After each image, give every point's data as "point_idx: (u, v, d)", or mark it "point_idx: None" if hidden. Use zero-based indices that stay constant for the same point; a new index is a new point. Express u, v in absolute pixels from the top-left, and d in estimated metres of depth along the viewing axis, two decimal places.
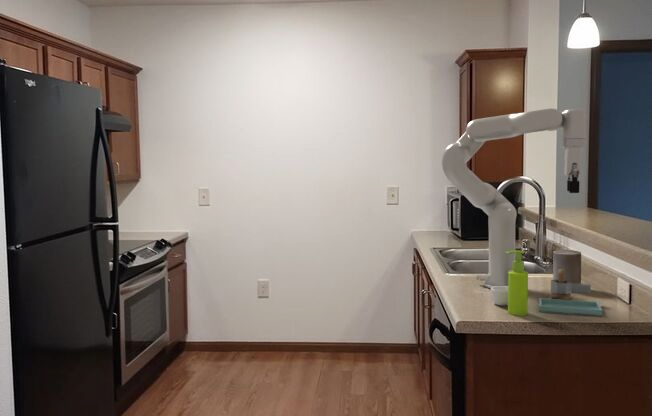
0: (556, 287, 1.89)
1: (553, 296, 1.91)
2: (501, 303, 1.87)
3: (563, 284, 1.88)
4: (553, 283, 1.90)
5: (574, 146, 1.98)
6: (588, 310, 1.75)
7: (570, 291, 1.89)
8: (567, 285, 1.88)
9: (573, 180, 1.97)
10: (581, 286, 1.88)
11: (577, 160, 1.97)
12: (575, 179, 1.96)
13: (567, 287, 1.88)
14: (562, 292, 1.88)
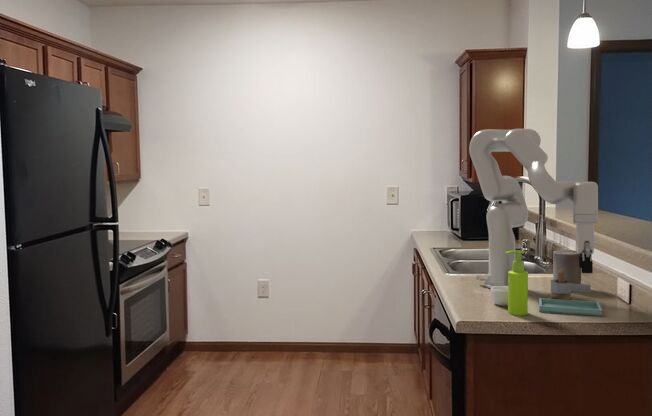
0: (556, 287, 1.89)
1: (553, 296, 1.91)
2: (501, 303, 1.87)
3: (563, 284, 1.88)
4: (553, 283, 1.90)
5: (586, 222, 1.83)
6: (588, 310, 1.75)
7: (570, 291, 1.89)
8: (567, 285, 1.88)
9: (586, 260, 1.82)
10: (581, 286, 1.88)
11: (589, 238, 1.82)
12: (588, 259, 1.81)
13: (567, 287, 1.88)
14: (562, 292, 1.88)
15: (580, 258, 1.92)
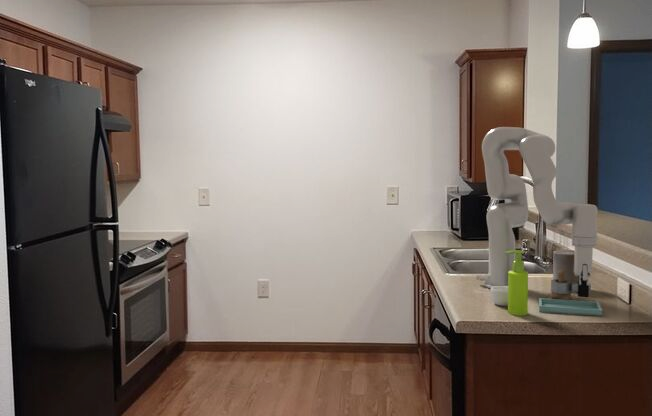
0: (556, 287, 1.89)
1: (553, 296, 1.91)
2: (501, 303, 1.87)
3: (563, 284, 1.88)
4: (553, 283, 1.90)
5: (584, 245, 1.84)
6: (588, 310, 1.75)
7: (570, 291, 1.89)
8: (567, 285, 1.88)
9: (582, 285, 1.86)
10: None
11: (588, 261, 1.83)
12: (584, 284, 1.86)
13: (567, 287, 1.88)
14: (562, 292, 1.88)
15: None
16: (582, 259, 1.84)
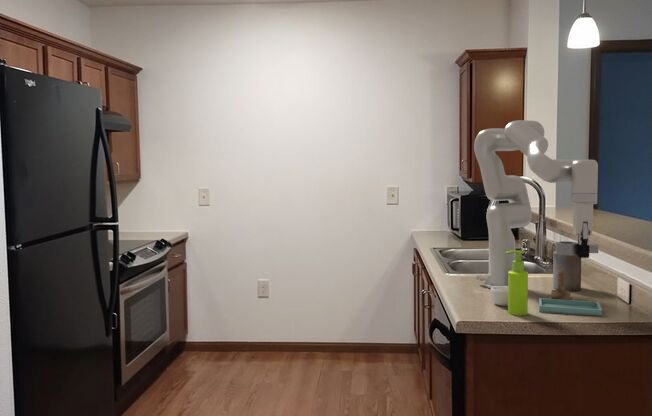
0: (562, 248, 1.79)
1: (553, 296, 1.91)
2: (501, 303, 1.87)
3: (569, 245, 1.78)
4: (558, 244, 1.80)
5: (585, 202, 1.75)
6: (588, 310, 1.75)
7: (577, 252, 1.78)
8: (573, 246, 1.78)
9: (582, 245, 1.77)
10: None
11: (588, 218, 1.74)
12: (585, 243, 1.76)
13: (573, 248, 1.78)
14: (568, 253, 1.78)
15: None
16: (582, 216, 1.74)
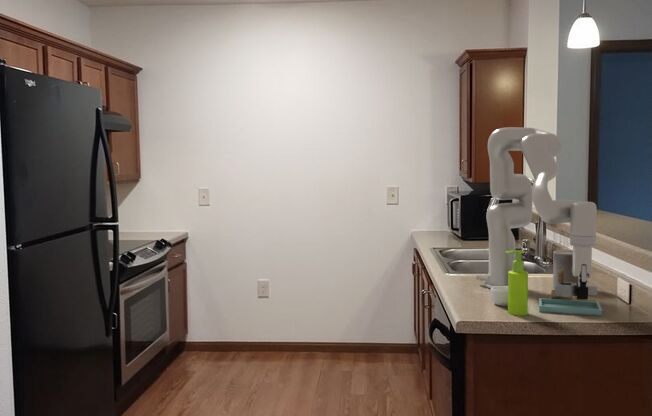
0: (560, 290, 1.79)
1: (553, 296, 1.91)
2: (501, 303, 1.87)
3: (568, 286, 1.78)
4: (557, 286, 1.80)
5: (583, 245, 1.75)
6: (588, 310, 1.75)
7: (575, 294, 1.79)
8: (572, 287, 1.78)
9: (581, 287, 1.77)
10: None
11: (587, 261, 1.74)
12: (583, 285, 1.76)
13: (572, 290, 1.78)
14: (567, 295, 1.78)
15: None
16: (581, 259, 1.75)
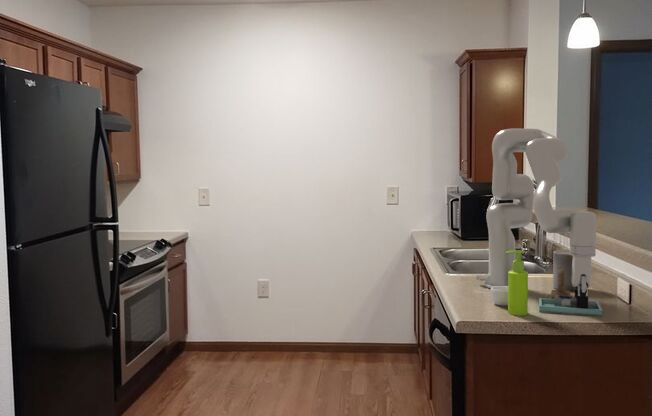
0: (560, 303, 1.80)
1: (553, 296, 1.91)
2: (501, 303, 1.87)
3: (567, 300, 1.79)
4: (557, 299, 1.81)
5: (583, 255, 1.76)
6: (588, 310, 1.75)
7: (575, 307, 1.80)
8: (572, 301, 1.79)
9: (581, 295, 1.75)
10: None
11: (586, 271, 1.75)
12: (583, 294, 1.74)
13: (572, 303, 1.79)
14: None
15: (576, 292, 1.84)
16: (580, 269, 1.75)
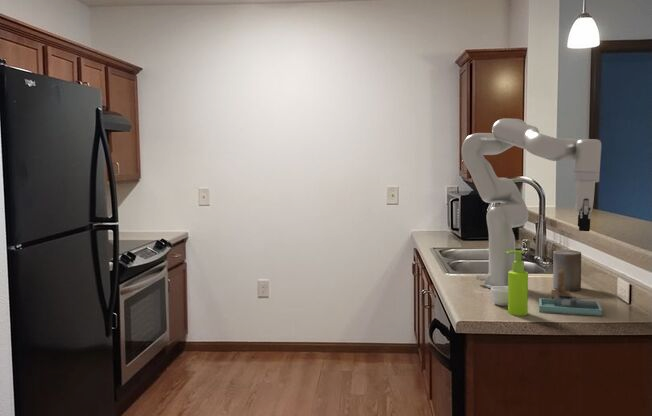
0: (560, 303, 1.80)
1: (553, 296, 1.91)
2: (501, 303, 1.87)
3: (567, 300, 1.79)
4: (557, 299, 1.81)
5: (586, 180, 1.82)
6: (588, 310, 1.75)
7: (575, 307, 1.80)
8: (572, 301, 1.79)
9: (583, 217, 1.81)
10: (586, 302, 1.79)
11: (589, 196, 1.81)
12: (586, 216, 1.80)
13: (572, 303, 1.79)
14: None
15: (579, 217, 1.91)
16: (583, 194, 1.81)
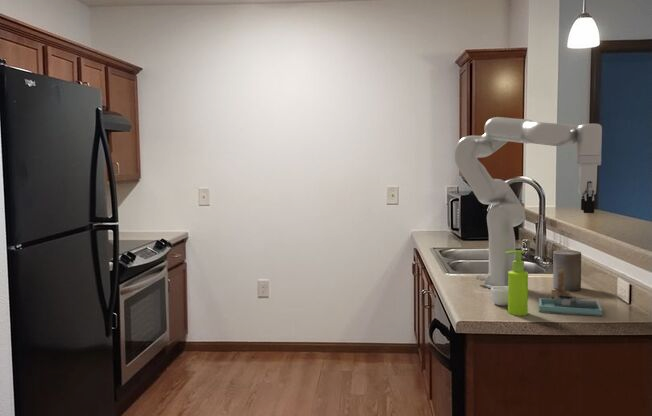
0: (560, 303, 1.80)
1: (553, 296, 1.91)
2: (501, 303, 1.87)
3: (567, 300, 1.79)
4: (557, 299, 1.81)
5: (589, 163, 1.86)
6: (588, 310, 1.75)
7: (575, 307, 1.80)
8: (572, 301, 1.79)
9: (588, 200, 1.85)
10: (586, 302, 1.79)
11: (592, 178, 1.85)
12: (590, 199, 1.85)
13: (572, 303, 1.79)
14: None
15: (582, 200, 1.96)
16: (587, 177, 1.86)
